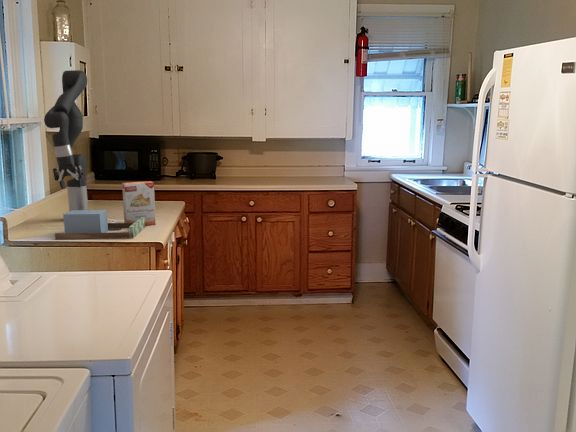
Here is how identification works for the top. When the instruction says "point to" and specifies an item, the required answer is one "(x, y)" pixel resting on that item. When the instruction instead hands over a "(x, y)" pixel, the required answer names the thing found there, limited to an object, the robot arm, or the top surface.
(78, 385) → the top surface
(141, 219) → the tray
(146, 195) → the cracker box
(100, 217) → the slate block
